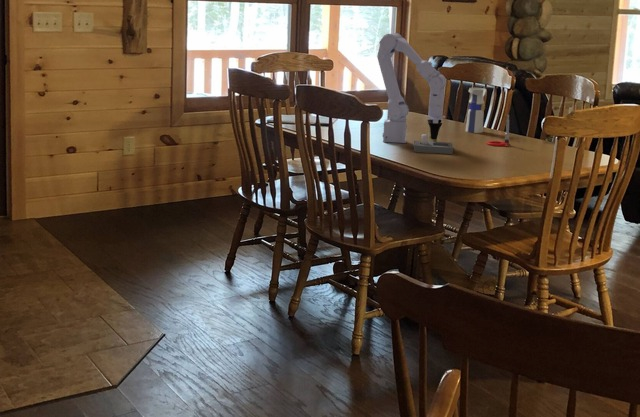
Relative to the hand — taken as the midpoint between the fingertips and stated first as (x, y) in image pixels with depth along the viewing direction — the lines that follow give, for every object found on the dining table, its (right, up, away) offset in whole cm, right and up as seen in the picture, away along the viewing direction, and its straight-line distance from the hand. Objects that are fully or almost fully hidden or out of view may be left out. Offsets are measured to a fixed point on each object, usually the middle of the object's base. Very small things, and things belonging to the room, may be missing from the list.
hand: (433, 138), depth 354 cm
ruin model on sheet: (-14, +8, +41) cm, 44 cm away
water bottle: (+24, +6, +39) cm, 46 cm away
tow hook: (+28, -2, +8) cm, 29 cm away
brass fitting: (0, -3, +1) cm, 3 cm away
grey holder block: (-2, -6, -10) cm, 11 cm away
